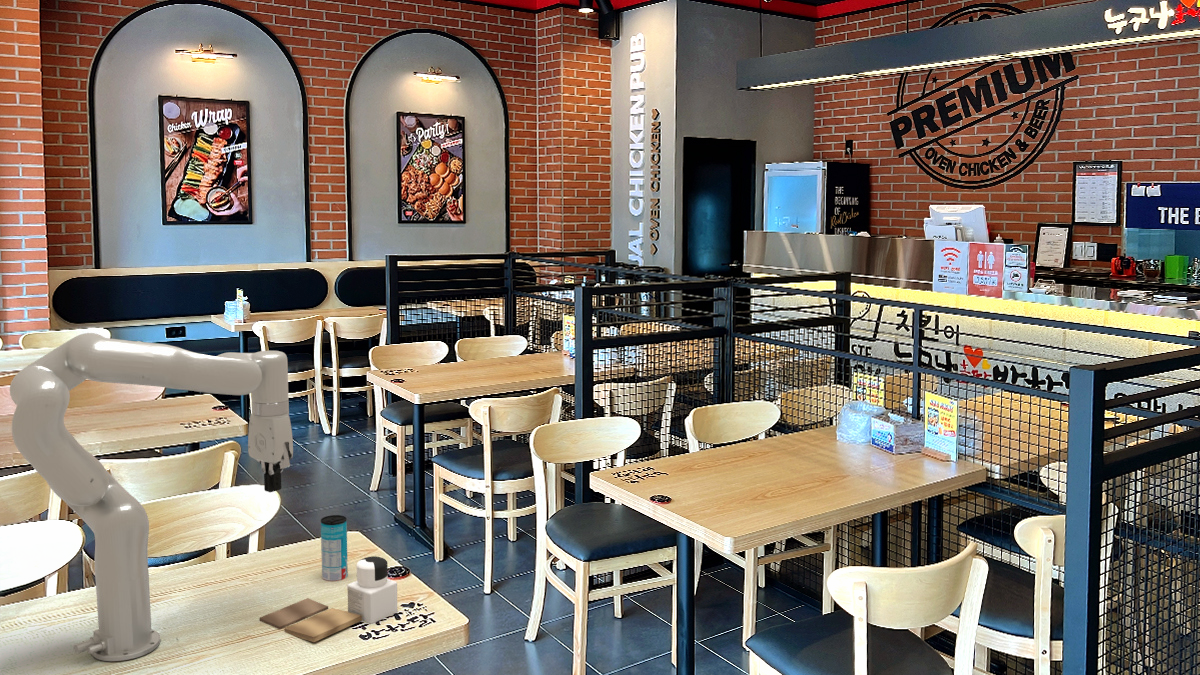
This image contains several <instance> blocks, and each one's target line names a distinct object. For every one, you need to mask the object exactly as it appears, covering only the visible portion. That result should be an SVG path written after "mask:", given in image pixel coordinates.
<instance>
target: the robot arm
mask: <svg viewBox="0 0 1200 675" xmlns="http://www.w3.org/2000/svg"><path fill="white" fill-rule="evenodd" d="M288 365H289V364H288V357H287V354H286V353H285V352H283V351H279V350H260V351H257V352H235V351H234V352H224V353H221V354H218V355H216V356H215V355H208V354H205V353H204V354H203V353H198V352H194V351H190V350H187V349H184V348H181V347H179V346H174V345H170V344H166V343H156V342H155V343H154V342H143V341H135V340H127V339H118V338H108V337H105V336H103V335H101V334H97V333H94V332H86V333H81V334H78V335H76V336H73V337H72V338H71V339H69V340H67V341H65V342H63V344H61V345H59V346H57V347H56V348H54V349H53V350H51V351H49V352H47V353H46V354H44V355H43V356H41V357H40V358H38V359H37V360H35V361H33V362H32V363H30V364H28V365H27V366H25V367H24V368H22V369H21V370H19V372H17V374H15V376H14V377H13V378H12V380H11V383H10V385H9V395H10V397H11V400H12V401H13V403H14V404H15V405H16V407H15V410H14V413H13V416H12V420H11V435H12V441H13V444H14V445H15V447H16V448H17V450H18V452H19V453H20V454H21V455H22V456H23V458H24V459H25V460H26V461H27V462H28V463H29V464H30V466H32V468H33V469H34V470H35V471H36V472H37V473H38V474H39V475H40V476H41V477H42V478H43V480H44V481H46V483H47V485H48V486H49V488H50V489H51V490H52V492H54V494H55V495H56V496H57V497H58V498H59V499H61V501H63V502H64V503H65V504H66V505H67V506H68V507H69V508H70V509H72V511H73V512H74V513H75V514H76V515H77V516H79V518H80V519H81V520H82V521H83V522H84V523H85V524H86V525H87V526H88V527H89V529H90V530H91V531H92V532H93V535H94V541H95V542H94V543H95V544H94V546H95V549H94V578H95V591H96V605H97V609H96V610H97V623H98V624H97V625H98V629H95V630H93V631H92V632H93V636H90V637H89V639H87V640H85V641H81V642H77V643H74V645H73V651H74V652H75V654H77V655H78V654H80V653H85V652H87V653H88V655H92V656H93V658H94V659H97V660H100V661H104V662H121V661H130V660H132V659H137V658H139V657H143V656H145V655H148V654H149V653H151V652H153V651H154V650H156V648H158V647H159V645H160V644H161V642H162V640H161V634H160V632H158V631H157V630H154V629H152V615H151V614H152V613H151V596H150V595H151V594H150V593H151V592H150V575H149V558H148V556H149V555H148V552H149V551H148V548H149V547H148V545H149V544H148V543H149V534H150V522H149V521H150V520H149V516H148V513H147V512H146V511H147V510H146V509H145V507H144V506H143V505H142V504H141V502H140V501H138V499H136V498H135V497H134V496H132V494H130V493H129V491H127V490H126V489H125V488H124V487H123V486H122V485H121V484H120V483H119V481H117V479H115V477H114V476H113V475H112V474H111V473H110V472H109V471H108V470H107V469H106V468H105V466H104V465H103V463H101V461H99V459H98V458H96V457H95V456H94V455H93V454H92V453H91V452H90V451H88V450H86V449H85V448H84V447H83V446H82V445H81V444H80V443H79V441H77V439H76V438H75V437H74V435H73V434H72V433H71V432H70V431H69V430H68V429H67V427H66V426H65V414H66V412H67V409H68V407H69V405H70V399H71V395H70V394H71V393H70V391H71V390H73V389H74V388H76V387H77V386H80V385H81V384H82V383H83V382H85V381H86V380H88V381H92V382H98V383H111V384H120V385H121V384H124V385H137V386H145V387H147V386H150V387H159V388H165V389H173V390H182V391H183V390H184V391H191V392H192V391H194V392H198V393H205V394H206V393H207V394H215V395H216V394H218V395H227V396H228V395H230V396H231V395H232V396H245V395H246V396H247V395H249V394H251V413H250V417H249V423H248V434H247V435H248V437H247V438H248V440H247V443H248V444H247V447H248V449H247V450H248V452H247V453H248V456H249V457H250V458H252V459H254V460H255V461H257V463H260V466H261V472H262V473H263V484H264V486H263V487H264V491H265V492H268V493H274V492H276V491H277V492H278V491H280V490H281V489H282V472H283V471H284V469H287V468H290V467H291V463H290V461H291V460H292V459H293V456H294V442H293V441H294V440H293V430H292V424H291V417H290V409H289V408H290V407H289V406H290V405H289V404H290V403H289V374H288V373H289V371H288V367H289V366H288Z"/></svg>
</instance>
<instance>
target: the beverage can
mask: <svg viewBox="0 0 1200 675" xmlns="http://www.w3.org/2000/svg"><path fill="white" fill-rule="evenodd" d="M347 525H348V524H347V516H345V515H340V514H331V515H328V516H327V515H326V516H324V517H322V518H321V519H320V541H321V542H320V544H321V546H320V547H321V578H322V580H324V581H326V582H339V581H342V580H345V579H346V578H348V577H349V576H348V575H349V574H348V571H349V570H348V526H347Z"/></svg>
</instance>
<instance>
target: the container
mask: <svg viewBox="0 0 1200 675" xmlns="http://www.w3.org/2000/svg"><path fill="white" fill-rule="evenodd" d="M388 568H389V566H388V560H386V559H385V558H383V557H380V556H367V557H363V558H362V559H360V560H358V561H357V563H356V580H355V581H352V582H351V583H347V588H346V589H347V612H350V613H354V614H358V615H362V621H363V622H365V623H368V624H370V625H372V624H375V623H377V622H379V621H381V620H384V619H386V618H387V617H391V615H394V614H396V613H398V582H397V581H395V580H392V579H390V578H388V574H389V573H388ZM362 621H361V622H362Z"/></svg>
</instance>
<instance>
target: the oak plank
mask: <svg viewBox="0 0 1200 675" xmlns="http://www.w3.org/2000/svg"><path fill="white" fill-rule="evenodd" d="M359 622H362V615H358V614H354V613H350V612H348V611H347V610H342V609H340V608H339V609H338V608H336V607H335V608H334V607H330V608H328V609H327V610H325V611H322V612H320V613H318V614H315V615H313V616H311V617H308V618H306V619H304V620H301V621H299V622H297V623H294V624H292V625H290V626H287V627H285V628H283V629H284V630H283V631H284V632H285V633H287V634H289V635H291V636H294V637H296V638H298V639H302V640H305V641H309V642H312V643H315V642H319V641H320V640H323V639H325V638H327V637H329V636H332V635H333V634H335V633H338V632H339V631H343V630H345V629H347V628H348V627H351V626H352V625H354V624H357V623H359Z"/></svg>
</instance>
